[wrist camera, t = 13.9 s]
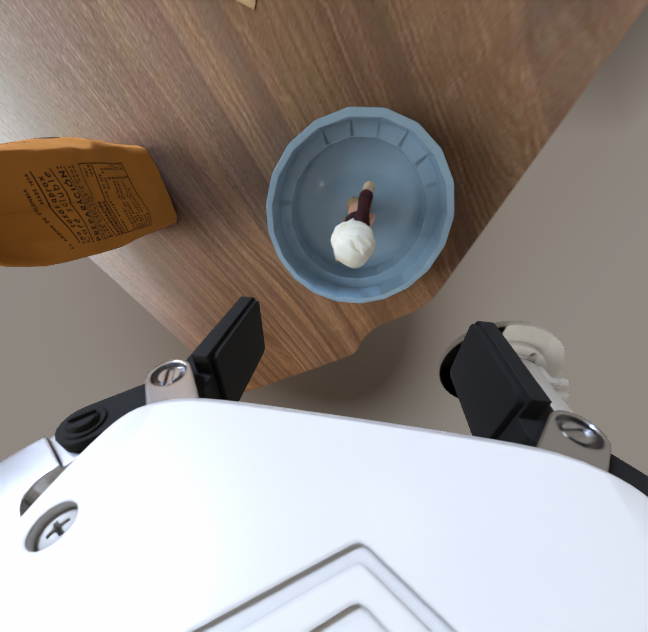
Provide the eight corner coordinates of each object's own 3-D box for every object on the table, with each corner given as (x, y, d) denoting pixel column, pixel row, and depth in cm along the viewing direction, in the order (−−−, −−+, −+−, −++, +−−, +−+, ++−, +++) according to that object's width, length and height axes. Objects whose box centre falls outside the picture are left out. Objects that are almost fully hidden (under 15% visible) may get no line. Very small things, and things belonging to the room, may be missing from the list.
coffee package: (56, 140, 28) (-480, 134, 10) (157, 137, 27) (-260, 125, 9) (102, 229, 34) (-191, 327, 16) (187, 231, 32) (-29, 340, 14)
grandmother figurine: (366, 248, 30) (369, 303, 20) (335, 242, 30) (321, 294, 20) (383, 176, 26) (398, 198, 15) (347, 170, 26) (337, 188, 15)
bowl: (460, 116, 23) (487, 109, 18) (415, 284, 33) (425, 309, 28) (277, 112, 24) (255, 104, 19) (287, 274, 34) (274, 295, 29)
